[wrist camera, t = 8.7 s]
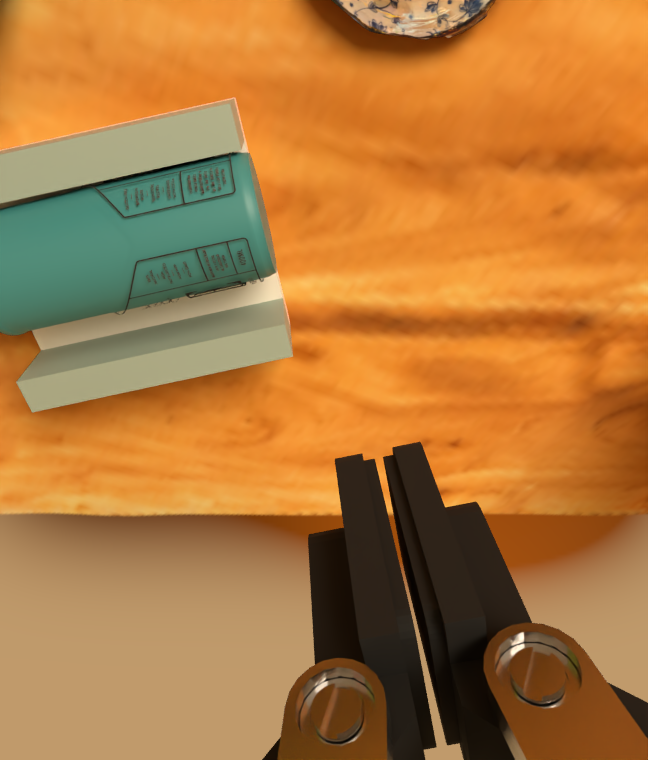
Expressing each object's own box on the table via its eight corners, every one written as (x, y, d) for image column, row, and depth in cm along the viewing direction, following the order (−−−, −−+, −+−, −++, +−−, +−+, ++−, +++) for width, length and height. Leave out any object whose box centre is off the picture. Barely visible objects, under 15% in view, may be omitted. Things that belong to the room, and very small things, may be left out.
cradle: (235, 97, 30) (229, 103, 26) (289, 320, 37) (292, 356, 32) (-40, 158, 31) (-94, 175, 26) (60, 369, 37) (32, 412, 33)
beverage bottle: (271, 114, 26) (-156, 209, 26) (301, 256, 26) (-132, 350, 26) (285, 173, 33) (-58, 249, 33) (309, 287, 32) (-38, 362, 33)
